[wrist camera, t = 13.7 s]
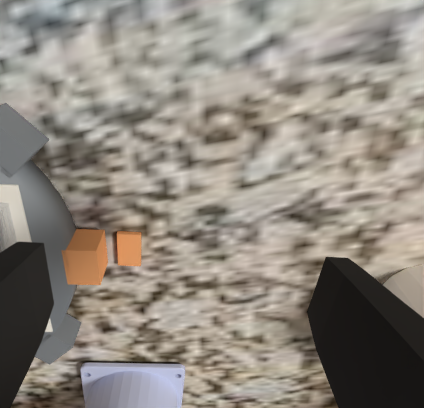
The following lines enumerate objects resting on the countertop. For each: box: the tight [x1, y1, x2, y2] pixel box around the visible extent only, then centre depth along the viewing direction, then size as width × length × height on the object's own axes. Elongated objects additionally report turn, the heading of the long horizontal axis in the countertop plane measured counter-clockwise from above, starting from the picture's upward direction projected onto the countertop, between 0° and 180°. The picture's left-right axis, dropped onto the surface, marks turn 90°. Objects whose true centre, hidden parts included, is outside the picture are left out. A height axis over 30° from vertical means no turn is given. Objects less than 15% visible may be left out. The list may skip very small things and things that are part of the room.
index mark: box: [117, 231, 141, 266], centre depth 21 cm, size 2×1×1 cm, turn 174°
